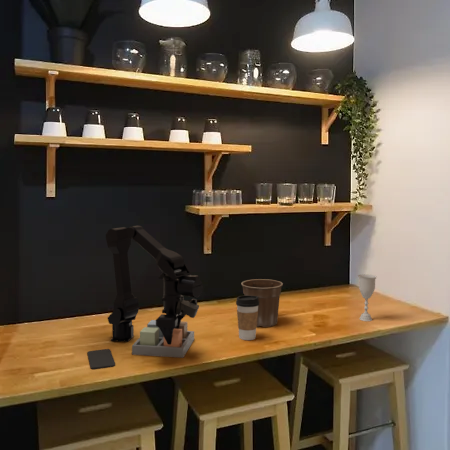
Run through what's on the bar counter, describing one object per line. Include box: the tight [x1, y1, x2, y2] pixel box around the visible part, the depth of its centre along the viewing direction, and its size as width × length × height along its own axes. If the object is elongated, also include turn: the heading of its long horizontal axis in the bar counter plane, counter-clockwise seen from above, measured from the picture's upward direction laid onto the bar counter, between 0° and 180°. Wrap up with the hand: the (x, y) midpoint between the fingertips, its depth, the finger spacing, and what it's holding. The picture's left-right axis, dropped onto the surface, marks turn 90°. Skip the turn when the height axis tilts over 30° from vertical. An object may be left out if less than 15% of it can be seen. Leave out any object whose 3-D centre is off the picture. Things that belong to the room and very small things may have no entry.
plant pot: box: [241, 278, 284, 328], centre depth 182 cm, size 16×16×16 cm
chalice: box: [357, 273, 378, 322], centre depth 187 cm, size 7×7×18 cm
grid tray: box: [131, 319, 195, 358], centre depth 156 cm, size 17×17×7 cm
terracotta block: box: [164, 329, 182, 347], centre depth 151 cm, size 5×5×6 cm
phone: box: [86, 348, 116, 370], centre depth 145 cm, size 7×1×15 cm
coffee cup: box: [235, 295, 259, 341], centre depth 165 cm, size 8×8×15 cm
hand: (172, 340), depth 151 cm, fingers open, 8 cm apart
